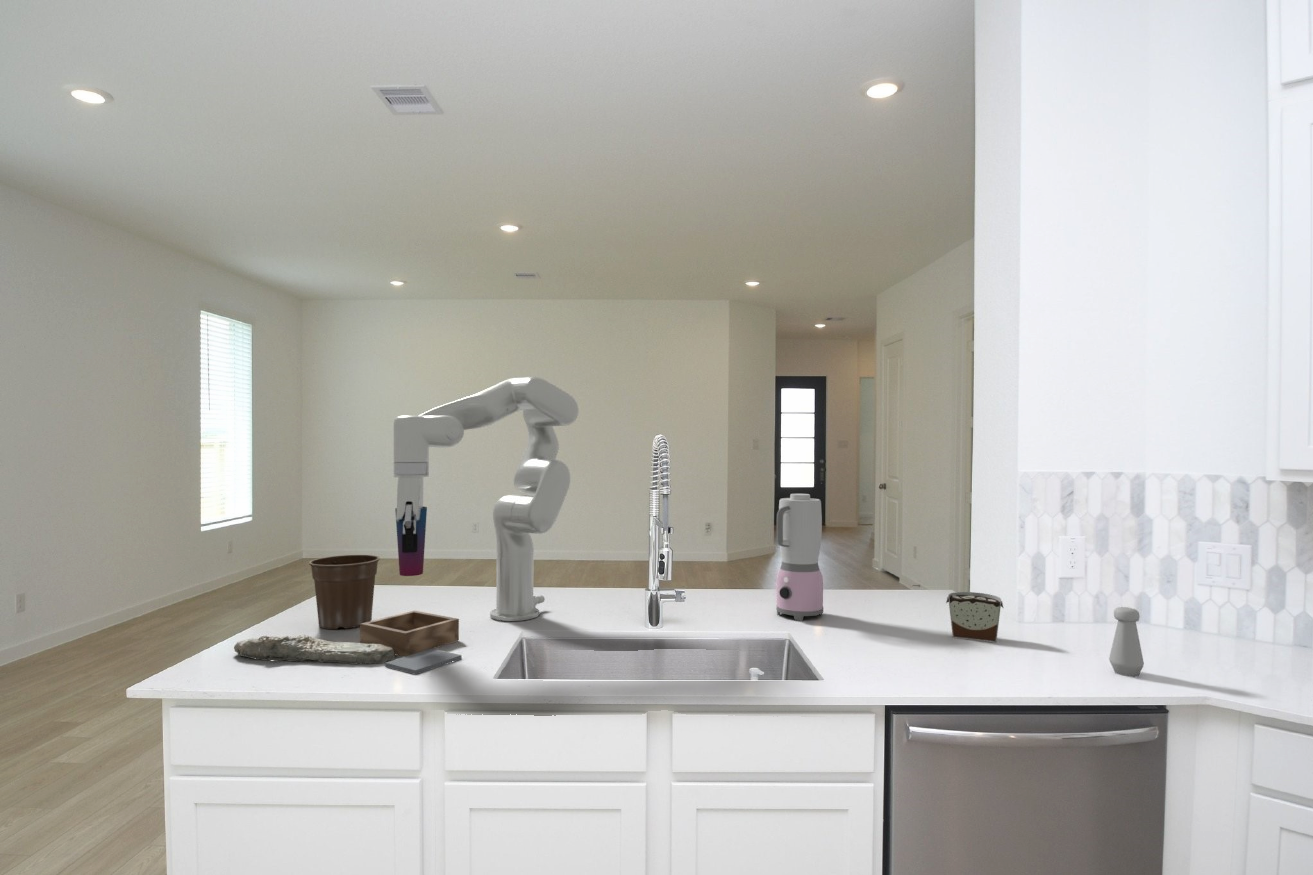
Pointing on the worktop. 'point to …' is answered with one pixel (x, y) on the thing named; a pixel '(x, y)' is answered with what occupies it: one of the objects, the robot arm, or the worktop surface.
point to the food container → (974, 615)
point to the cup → (414, 560)
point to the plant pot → (344, 589)
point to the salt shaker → (1126, 643)
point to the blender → (799, 556)
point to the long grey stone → (313, 650)
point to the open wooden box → (411, 632)
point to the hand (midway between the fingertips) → (411, 549)
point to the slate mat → (423, 661)
